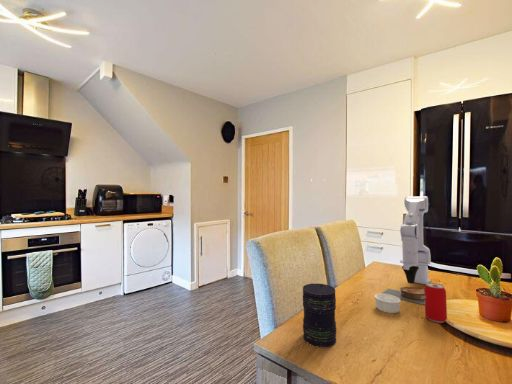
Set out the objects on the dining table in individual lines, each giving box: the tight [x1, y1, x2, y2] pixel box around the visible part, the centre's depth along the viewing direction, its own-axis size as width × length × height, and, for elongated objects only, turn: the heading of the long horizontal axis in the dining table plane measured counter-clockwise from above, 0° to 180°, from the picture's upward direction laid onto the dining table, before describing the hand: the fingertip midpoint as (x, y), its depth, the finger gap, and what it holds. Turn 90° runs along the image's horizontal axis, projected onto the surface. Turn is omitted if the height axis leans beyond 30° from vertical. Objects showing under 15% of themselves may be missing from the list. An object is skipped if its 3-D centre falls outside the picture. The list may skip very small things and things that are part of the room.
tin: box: [400, 286, 425, 300], centre depth 109 cm, size 15×3×8 cm
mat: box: [380, 288, 425, 306], centre depth 109 cm, size 10×20×1 cm, turn 46°
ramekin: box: [374, 293, 402, 314], centre depth 97 cm, size 9×9×4 cm
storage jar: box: [302, 283, 337, 349], centre depth 77 cm, size 10×10×15 cm
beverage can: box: [423, 282, 448, 324], centre depth 88 cm, size 6×6×12 cm
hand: (410, 283), depth 111 cm, fingers closed
